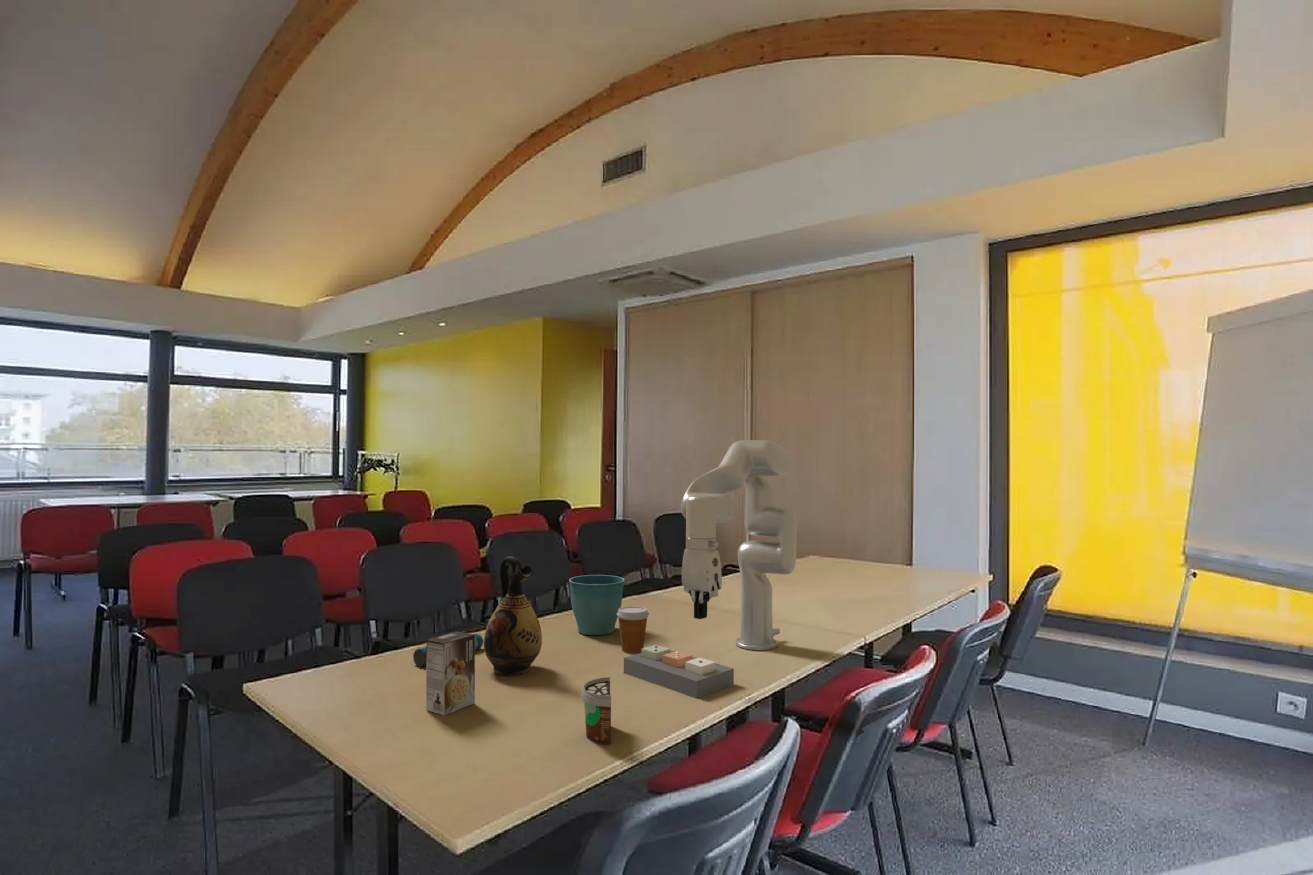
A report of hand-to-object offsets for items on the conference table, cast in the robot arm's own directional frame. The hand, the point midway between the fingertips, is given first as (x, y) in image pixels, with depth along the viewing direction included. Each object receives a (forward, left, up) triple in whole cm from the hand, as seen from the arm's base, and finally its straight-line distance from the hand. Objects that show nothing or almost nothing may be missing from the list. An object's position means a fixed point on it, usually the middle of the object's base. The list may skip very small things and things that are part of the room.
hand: (700, 617), depth 173 cm
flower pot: (-15, -59, -17) cm, 63 cm away
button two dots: (0, -16, -14) cm, 22 cm away
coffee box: (+52, -30, -17) cm, 62 cm away
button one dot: (0, 0, -14) cm, 14 cm away
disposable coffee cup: (-9, -35, -17) cm, 40 cm away
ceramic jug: (+27, -44, -17) cm, 54 cm away
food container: (+38, +5, -17) cm, 42 cm away
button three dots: (0, -8, -14) cm, 16 cm away
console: (0, -8, -17) cm, 19 cm away
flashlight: (+33, -66, -18) cm, 76 cm away
